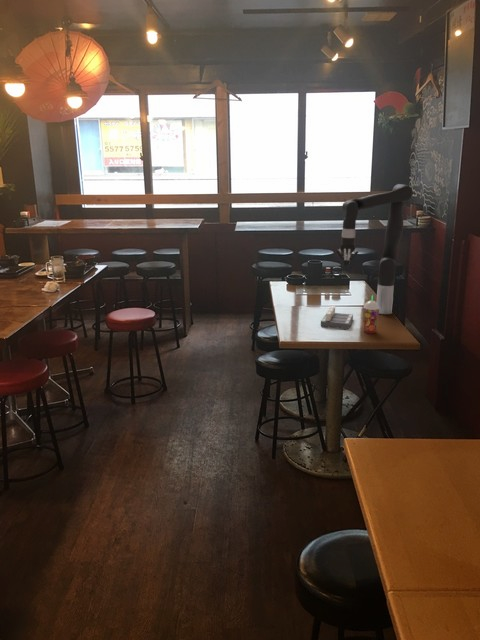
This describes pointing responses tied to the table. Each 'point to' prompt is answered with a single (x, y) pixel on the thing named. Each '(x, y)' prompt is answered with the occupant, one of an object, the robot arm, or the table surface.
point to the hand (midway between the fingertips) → (346, 266)
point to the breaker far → (333, 309)
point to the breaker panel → (338, 321)
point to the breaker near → (328, 316)
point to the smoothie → (370, 316)
